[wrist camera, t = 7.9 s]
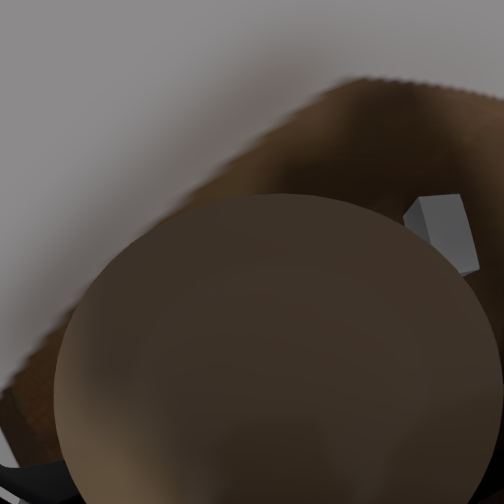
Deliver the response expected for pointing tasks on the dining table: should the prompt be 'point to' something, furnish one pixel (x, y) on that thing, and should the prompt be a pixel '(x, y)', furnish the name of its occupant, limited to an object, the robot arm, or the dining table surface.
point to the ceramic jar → (278, 364)
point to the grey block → (444, 229)
